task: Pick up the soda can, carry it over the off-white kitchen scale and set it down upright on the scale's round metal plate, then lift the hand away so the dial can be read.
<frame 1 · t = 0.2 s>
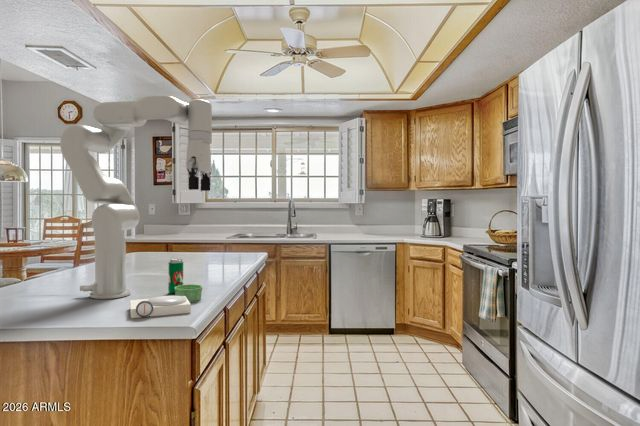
hand: (199, 190, 138), 37 cm above the countertop, tool pointing down, fingers open, 9 cm apart
ramekin: (188, 300, 139), on the countertop
scale: (160, 310, 124), on the countertop
soda can: (175, 293, 149), on the countertop
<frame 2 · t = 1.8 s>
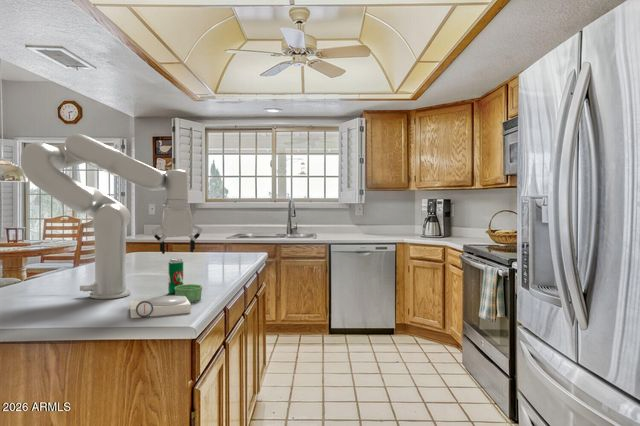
hand: (177, 252, 149), 14 cm above the countertop, tool pointing down, fingers open, 9 cm apart
nothing on the countertop moved.
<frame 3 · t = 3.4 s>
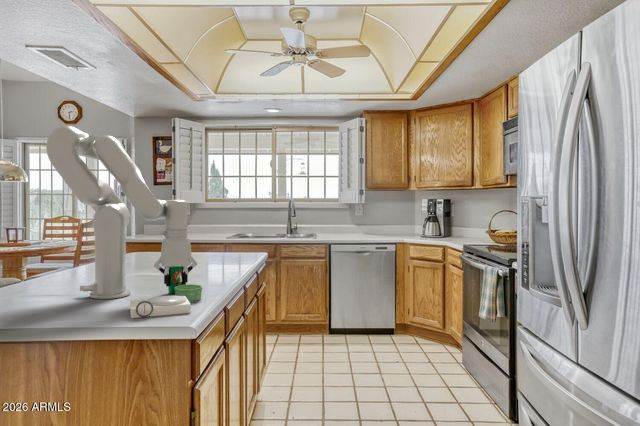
hand: (175, 284, 149), 3 cm above the countertop, tool pointing down, fingers closed on soda can, 5 cm apart
soda can: (175, 293, 149), on the countertop, touching gripper
everything else where it was.
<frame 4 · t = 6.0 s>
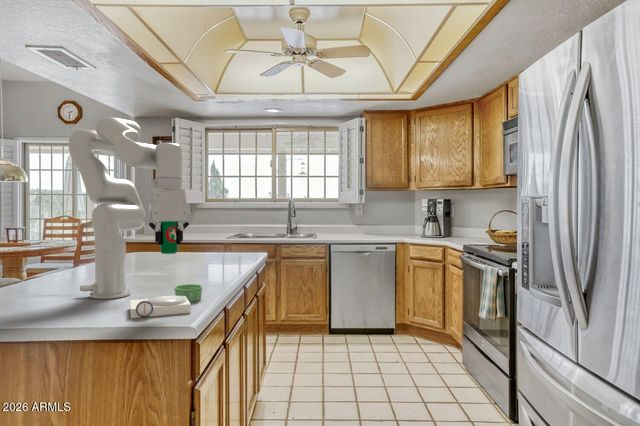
hand: (169, 243, 126), 20 cm above the countertop, tool pointing down, fingers closed on soda can, 5 cm apart
soda can: (169, 253, 127), point 17 cm above the countertop, touching gripper
everything else where it was.
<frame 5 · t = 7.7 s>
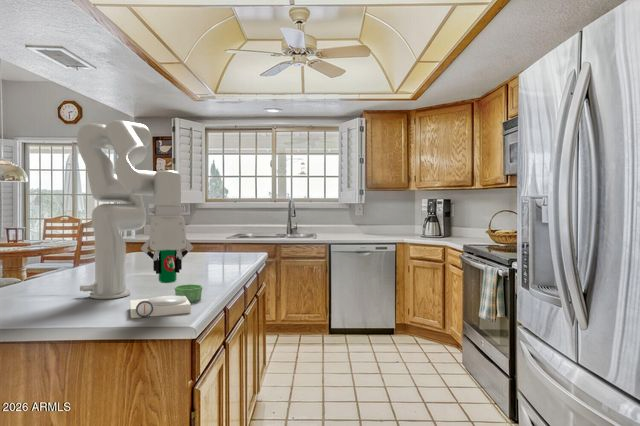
hand: (167, 272, 125), 11 cm above the countertop, tool pointing down, fingers closed on soda can, 5 cm apart
soda can: (167, 282, 125), point 8 cm above the countertop, touching gripper
everything else where it was.
when the fingers open (7 cm above the countertop, at t = 8.9 s): soda can drops 1 cm, resting on scale.
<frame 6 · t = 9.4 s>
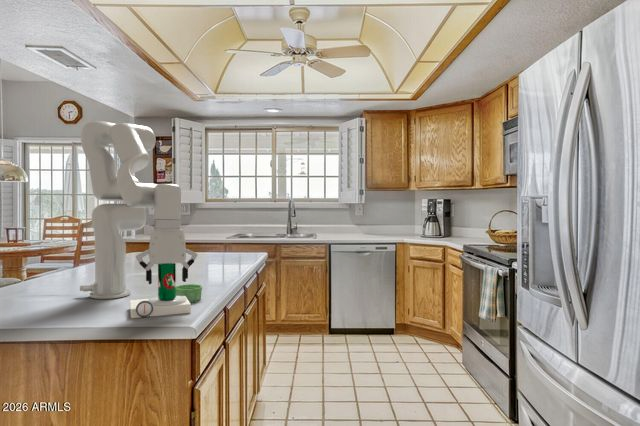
hand: (167, 282, 125), 8 cm above the countertop, tool pointing down, fingers open, 9 cm apart
soda can: (167, 299, 125), point 3 cm above the countertop, touching scale
everything else where it was.
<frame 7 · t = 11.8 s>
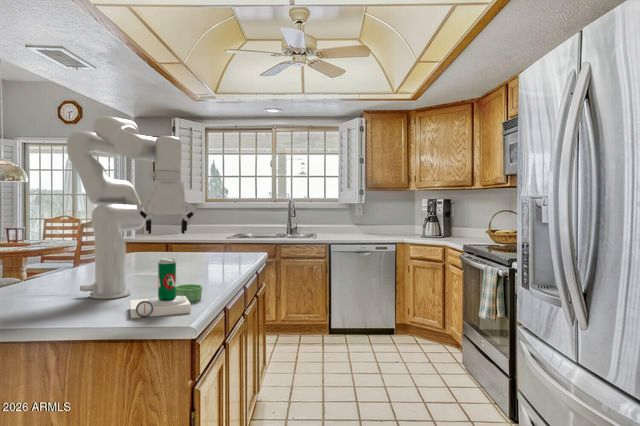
hand: (166, 233, 128), 23 cm above the countertop, tool pointing down, fingers open, 9 cm apart
nothing on the countertop moved.
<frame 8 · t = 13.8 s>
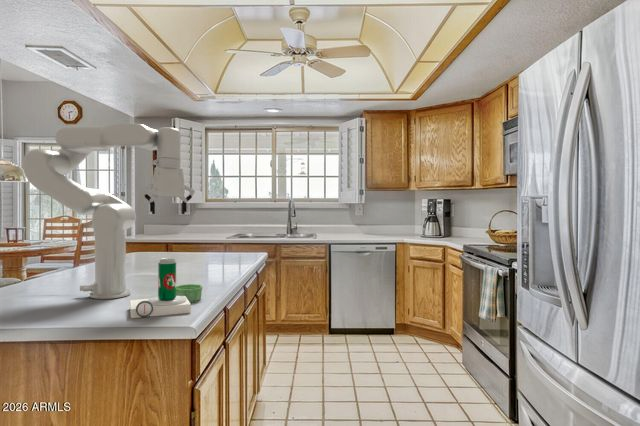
hand: (168, 214, 143), 28 cm above the countertop, tool pointing down, fingers open, 9 cm apart
nothing on the countertop moved.
at the end: soda can inside the target area on the scale (0.2 cm from its centre), point 2.9 cm above the scale's base; soda can tilted 0°; the gripper is holding nothing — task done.
